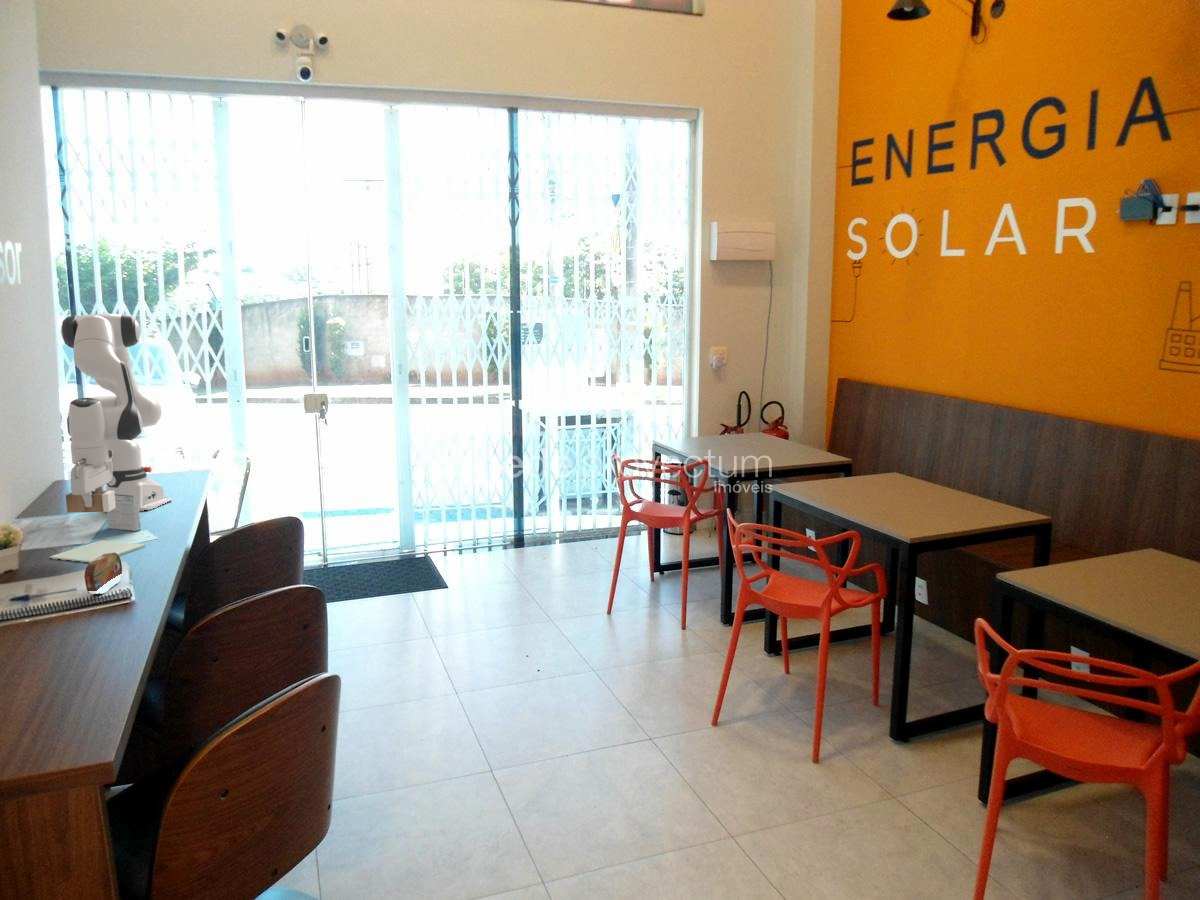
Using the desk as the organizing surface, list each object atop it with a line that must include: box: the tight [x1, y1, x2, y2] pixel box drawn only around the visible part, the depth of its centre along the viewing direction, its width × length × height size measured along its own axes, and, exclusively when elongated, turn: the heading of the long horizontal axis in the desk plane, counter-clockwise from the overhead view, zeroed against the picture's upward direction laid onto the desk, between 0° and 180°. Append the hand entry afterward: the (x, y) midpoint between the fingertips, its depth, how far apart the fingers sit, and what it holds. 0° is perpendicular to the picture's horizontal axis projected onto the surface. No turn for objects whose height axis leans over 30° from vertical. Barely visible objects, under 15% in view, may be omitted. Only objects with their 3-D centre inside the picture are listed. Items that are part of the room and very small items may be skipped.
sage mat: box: [49, 539, 146, 563], centre depth 257 cm, size 18×16×1 cm
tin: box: [83, 553, 123, 592], centre depth 225 cm, size 15×3×8 cm, turn 5°
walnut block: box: [65, 490, 116, 514], centre depth 254 cm, size 5×5×11 cm
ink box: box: [106, 494, 141, 532], centre depth 281 cm, size 12×2×12 cm, turn 71°
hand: (94, 503), depth 254 cm, fingers closed on walnut block, 5 cm apart
